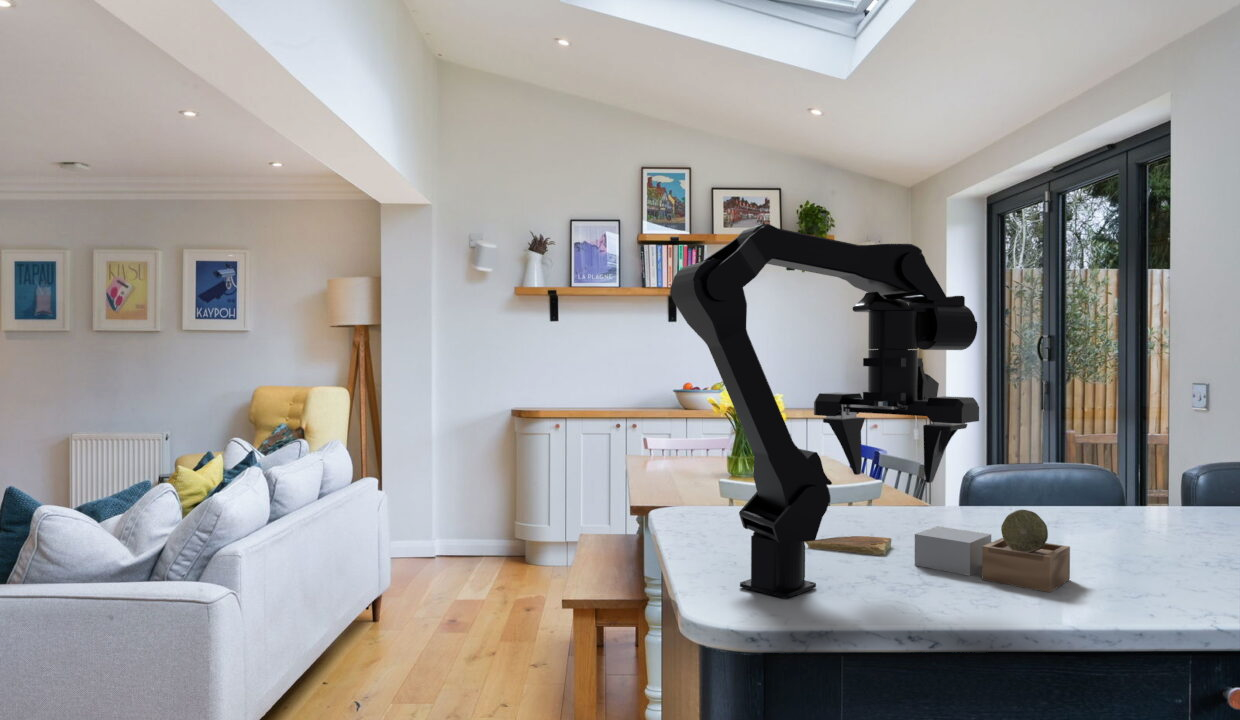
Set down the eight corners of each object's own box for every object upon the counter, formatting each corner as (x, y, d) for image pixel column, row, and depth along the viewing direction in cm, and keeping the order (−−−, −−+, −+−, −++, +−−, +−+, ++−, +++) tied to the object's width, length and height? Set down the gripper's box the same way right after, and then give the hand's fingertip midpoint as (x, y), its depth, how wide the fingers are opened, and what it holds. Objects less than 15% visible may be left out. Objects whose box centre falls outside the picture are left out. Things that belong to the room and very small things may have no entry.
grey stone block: (969, 575, 100) (970, 542, 99) (914, 565, 104) (914, 534, 104) (991, 565, 104) (991, 534, 104) (937, 555, 109) (937, 526, 109)
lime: (1053, 556, 96) (1054, 513, 96) (1012, 555, 96) (1013, 513, 96) (1034, 547, 100) (1034, 506, 100) (995, 547, 100) (995, 506, 100)
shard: (804, 551, 114) (804, 538, 114) (817, 540, 121) (817, 528, 121) (884, 560, 109) (884, 546, 109) (893, 548, 116) (893, 535, 116)
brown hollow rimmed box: (1049, 592, 92) (1049, 557, 92) (982, 579, 98) (982, 546, 98) (1069, 579, 98) (1069, 546, 98) (1004, 568, 103) (1004, 536, 103)
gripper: (997, 350, 98) (996, 479, 98) (855, 350, 111) (854, 465, 111) (960, 349, 90) (959, 490, 90) (811, 349, 103) (811, 473, 103)
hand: (892, 478), depth 99 cm, fingers open, 9 cm apart
